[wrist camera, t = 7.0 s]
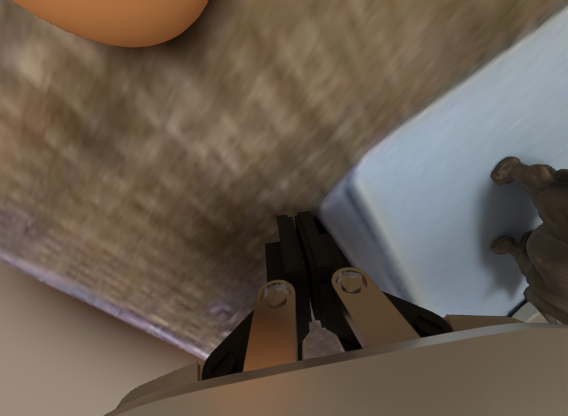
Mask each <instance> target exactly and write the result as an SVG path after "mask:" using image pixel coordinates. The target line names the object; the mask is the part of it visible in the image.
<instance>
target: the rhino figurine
mask: <svg viewBox="0 0 568 416" xmlns="http://www.w3.org/2000/svg"><path fill="white" fill-rule="evenodd" d="M492 178H493V179H494V180H495V183H496V184H499V185H502V184H509V183H511V182H513V181H517V182H519V183H520V184H521V185H522V186H523V187H524V188H525V190H526V191H527V192H528V194H529V195H530V196H531V198H532V201H533V203H534V205H535V207H536V209H537V210H538V214H539V217H540V218H541V220H542V221H543V222H544V223H542V224H541V225H540V226H538V227H537V228H536V229H535V230H532V231H529V232H527V233H526V234H525V236H524V237H523V239H522V242H521V244H520V243H518V242H516V241H515V239H513V238H512V237H508V236H506V237H503V238H501V239H499V240H497V241H495V242H493V243H492V244H491V245H490V249H491V250H493V252H494V253H496V254H504V253H509V254H511V255H512V256H513V257H514V258H515V260H516V262H517V263H518V266H519V269H520V270H521V272H522V274H523V275H524V276H525V277H526V281H527V283H528V284H529V285H530V286H528V287H527V288H526V289H525V290H524V293H523V295H524V296H525V299H526V300H527V301H529V302H530V303H531V304H532V305H533V306H534V307H535V308H536V309H537V310H538V311H539V312H540V313H541V314H542V315H543V317H544V318H545V319H546V320H547V321H548V322H549V323H557V324H558V322H557V320H558V321H559V322H561V323H562V324H565V325H568V169H560V170H558V171H556V170H555V169H553V168H552V167H551V166H549V165H539V164H536V165H532V166H528V165H524V164H522V163H521V161H520V159H518V158H516V157H509V158H507V159H505V160H504V161H502V162H501V163H500V164H499V165H498V166H497V167H496V169H495V170H494V171H493V174H492ZM556 319H557V320H556Z"/></svg>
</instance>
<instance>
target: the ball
mask: <svg viewBox="0 0 568 416" xmlns="http://www.w3.org/2000/svg"><path fill="white" fill-rule="evenodd" d="M12 1H14V2H16V3H17V4H19V5H20V6H22V7H23V8H25V9H27V10H28V11H30V12H31V13H33V14H35V15H36V16H38V17H40V18H41V19H43V20H45V21H47V22H49V23H51V24H53V25H55V26H57V27H59V28H61V29H63V30H65V31H68V32H70V33H72V34H75V35H78V36H80V37H83V38H85V39H88V40H92V41H96V42H99V43H103V44H107V45H113V46H121V47H145V46H153V45H157V44H160V43H163V42H165V41H168V40H170V39H172V38H174V37H176V36H178V35H179V34H181V33H182V32H184V31H185V30H186V29H187V28H188V27H189V26H190V25H191V24H193V23H194V21H195V20H196V19H197V18H198V17H199V15H200V14H201V13H202V11H203V9H204V8H205V6H206V4H207V2H208V1H209V0H12Z"/></svg>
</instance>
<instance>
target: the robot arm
mask: <svg viewBox="0 0 568 416" xmlns="http://www.w3.org/2000/svg"><path fill="white" fill-rule="evenodd" d="M277 223H278V229H279V235H280V242H274V243H268V244H265V249H266V266H267V283H266V284H264V285H263V286H262V287H261V288H260V289H259V291H258V293H257V296H256V302H255V307H254V310H253V311H252V312H251V313H250V314H249V315H248V316H247V317H246V318H245V319H244V320H243V321H242V322H241V323H240V324H239V325H238V326H237V327H236V328H235V329H234V330H233V331H232V332H231V333H230V334H229V336H228V337H227V338H226V339H225V340H224V341H223V342H222V343H221V344H220V345H219V346H218V347H217V348H216V349H215V350H214V351H213V352H212V353H211V354H210V356H209V357H208V358H207V360H206V361H205V362H202V363H200V364H199V363H198V362H194V363H192V364H190V365H187V366H185V367H183V368H180V369H178V370H175V371H173V372H171V373H168V374H166V375H164V376H161V377H159V378H157V379H154V380H152V381H150V382H147V383H145V384H143V385H140V386H138V387H137V388H135V389H133V390H132V391H130V392H129V393H128V394H127V395H126V396H125V397H124V398H123V399H122V400H121V402H120V403H119V405H118V406H117V408H116V409H114V410H113V411H111V412H109V413H107V414H106V415H104V416H568V325H565V324H562V323H561V322H559V321H558V320H557V319H556V320H557V322H558V324H557V323H549V322H548V321H547V320H546V319H545V318H544V317H543V315H542V314H541V313H540V312H539V311H538V310H537V309H536V308H535V307H534V306H533V305H532V304H531V303H530V302H529V301H528V302H527V303H525V304H524V305H523V306H522V307H521V308H520V309H519V310H518V311H516V312H515V313H514V314H513V316H512V317H503V316H473V315H446V317H445V318H442V317H440V316H439V315H437V314H435V313H433V312H431V311H429V310H426V309H424V308H421V307H419V306H417V305H414V304H412V303H409V302H407V301H405V300H402V299H400V298H397V297H395V296H393V295H390V294H388V293H385V292H383V291H381V290H380V289H379V287H378V286H377V285H376V284H375V283H374V281H373V280H372V279H371V278H370V277H369V276H368V275H367V274H366V273H365V272H364V271H362V270H360V269H356V268H350V267H347V266H346V264H345V262H344V260H343V258H342V256H341V254H340V252H339V250H338V248H337V246H336V244H335V242H334V240H333V239H332V237H331V235H330V234H329V233H327V234H321V235H320V234H319V232H318V230H317V228H316V225H315V223H314V221H313V219H312V216H311V214H310V212H309V211H306V212H300V213H298V216H295V224H296V231H295V227H294V224H293V220H292V217H287V215H282V216H277ZM296 232H297V234H296ZM309 298H310V300H309ZM310 302H311V305H312V309H313V313H314V317H315V320H320V322H321V326H322V328H324V327H325V328H326V329H327V330H329V331H331V332H332V333H334V338H335V341H336V343H337V345H338V347H339V349H340V351H341V353H338V354H333V355H328V356H323V357H317V358H312V359H307V360H304V359H303V342H302V341H303V340H304V338H305V337H306V335H307V334H308V333H309V323H308V322H311V321H312V318H311V309H310Z"/></svg>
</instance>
